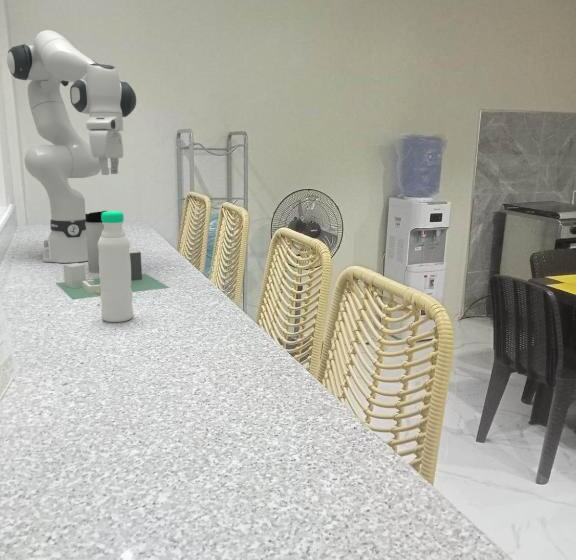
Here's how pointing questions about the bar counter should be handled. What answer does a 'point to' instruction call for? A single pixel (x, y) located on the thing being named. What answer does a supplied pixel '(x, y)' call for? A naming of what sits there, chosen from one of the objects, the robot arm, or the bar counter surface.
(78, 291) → the board
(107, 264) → the water bottle
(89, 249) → the travel mug
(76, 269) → the plug
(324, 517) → the bar counter surface
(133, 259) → the plug
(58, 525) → the bar counter surface
